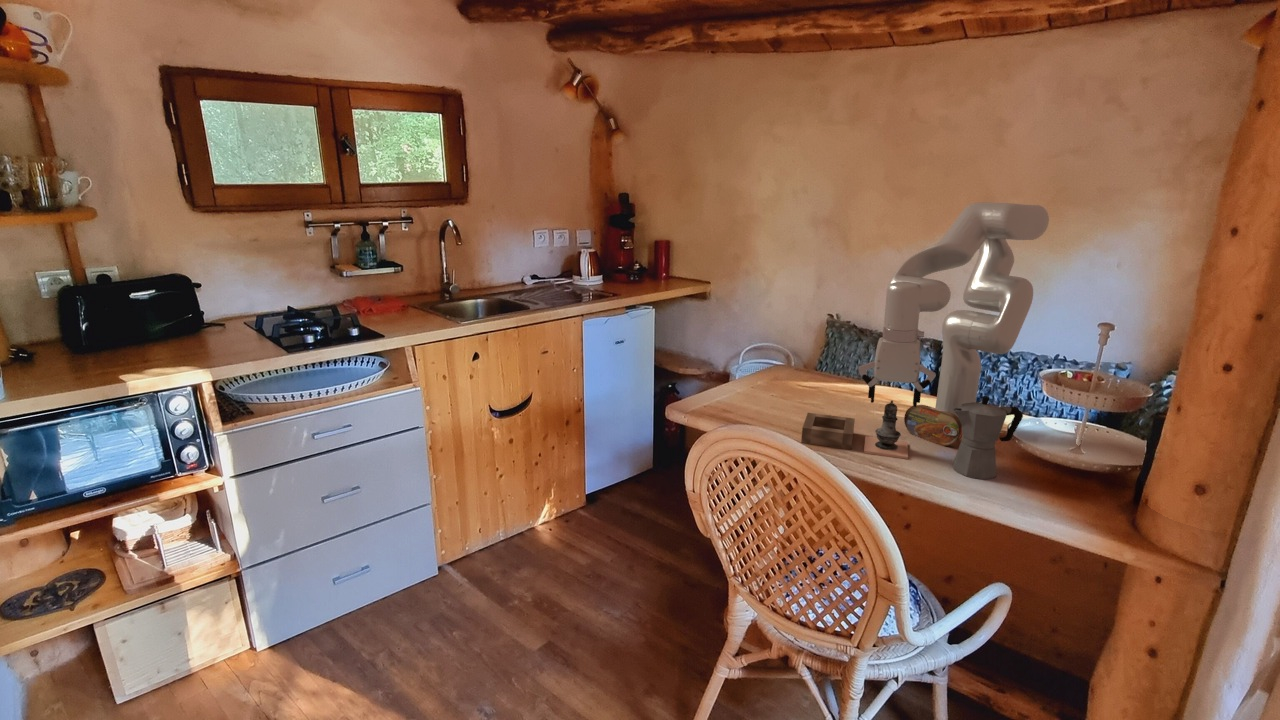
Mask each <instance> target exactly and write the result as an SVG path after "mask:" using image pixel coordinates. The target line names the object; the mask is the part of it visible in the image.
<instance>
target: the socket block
mask: <svg viewBox="0 0 1280 720" xmlns="http://www.w3.org/2000/svg"><path fill="white" fill-rule="evenodd" d="M855 420H856V419H855V418H852V417H846V416H845V417H844V416H836V415H831V414H830V415H829V414H821V413H815V412H807V413H806V416H805V419H804V422H803V425H802V429H801V430H802V431H801V439H800V440H801V442H800V443H803V444H809V445H817V446H822V447H829V448H838V449H843V450H844V449H845V450H851V451H852V443H853V437H854V429H855Z"/></svg>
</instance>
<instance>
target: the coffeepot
mask: <svg viewBox="0 0 1280 720" xmlns="http://www.w3.org/2000/svg"><path fill="white" fill-rule="evenodd" d="M990 399H991V398H990V396H988V395H982V396H981V402H977V401H976V402H972V403H965V404H962V407H957V408H954V410H953V412H955V413H956V414H957V416H958V418H959V420H960V422H961V424H962V437H961V441H960V443H959V446H958V449H957V452H956V454H955V456H954V458H953V459H954V460H953V463H952V469H953V470H954V471H955V472H956V473H957V474H959V475H961V476H964V477H967V478H970V479H976V480H990V479H993V478H995V477H997V469H996V468H997V460H996V459H997V458H996V442H997V441H998V440H999V439H1000V441H1001V442H1010V441H1011V440H1012V437H1013V436H1014V434H1015V432H1016V430H1017V429H1018V427H1019V425H1020V423H1021V421H1022V420H1023V418H1024V415H1023V412H1022V411H1021V410H1020V409H1019V407H1017V406H1007V405H1006V406H1005V405H1003V406H1000V407H999V406H996V405H994V404H991V403H989V401H990ZM1012 415H1013V418H1012V420H1011V423H1010V426H1009V427H1008V428H1007V431H1006V435H1005V436H1003V437H1002V436H1000V434H1001V432H1002V430H1003V426H1004V424H1005V421H1006V418H1007V416H1012Z"/></svg>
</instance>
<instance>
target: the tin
mask: <svg viewBox="0 0 1280 720" xmlns="http://www.w3.org/2000/svg"><path fill="white" fill-rule="evenodd" d="M903 418H904V419H903V422H904V426H905V427H906V430H907V431H908V433H909V434H911V435H913V436H914V435H915V436H914V437H916V436H918V437H917V438H919V437H920V439H922V438H923V440H925V439H926V440H925V441H928V440H929V441H928V442H931V443H935V444H936V445H939V446H950V445H953V444H956V443H958V442H959V441H960V440H961V439H962V437H963V436H962V424H961V422H960V420H959V418H958V417H957V416H956V415H955V414H953V413H950V412H947V411H943V410H940V409H936V408H935V407H932V406H929V405H926V404H917V406H916V407H914V406H913V405H911V406H910V407H909V408H907V409H906V412H905V413H904V417H903Z"/></svg>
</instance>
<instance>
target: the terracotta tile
mask: <svg viewBox="0 0 1280 720" xmlns="http://www.w3.org/2000/svg"><path fill="white" fill-rule="evenodd" d="M876 442H879V440H878V439H877V437H873V436H864V445H863V446H864V447H863V454H869V455H877V456H883V457H889V458H896V459H897V458H898V459H904V460H909V451H908V449H909V448H908V442H907V441H902V440H897V442H895V443H894V444H896V445H897V446H898V448H897V449H896V450H883V449H880V448H878V447H876V446H875V443H876Z"/></svg>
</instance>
